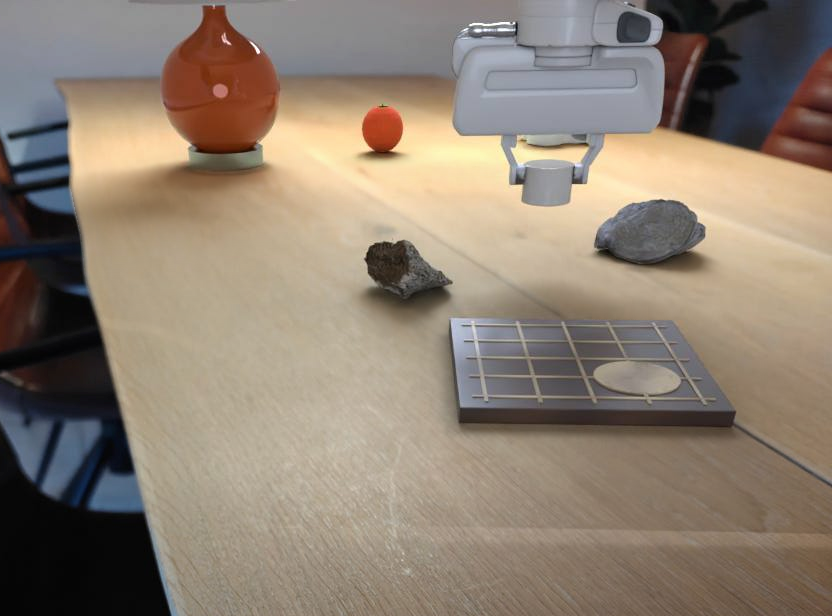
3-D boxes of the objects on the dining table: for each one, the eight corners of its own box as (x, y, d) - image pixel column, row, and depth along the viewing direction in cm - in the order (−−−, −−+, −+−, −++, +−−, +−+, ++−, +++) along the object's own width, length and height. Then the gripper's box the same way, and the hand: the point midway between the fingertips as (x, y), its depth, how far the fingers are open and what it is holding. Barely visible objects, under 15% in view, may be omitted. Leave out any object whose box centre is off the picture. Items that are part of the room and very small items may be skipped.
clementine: (362, 147, 158) (362, 99, 153) (402, 147, 158) (403, 99, 153) (361, 155, 152) (361, 106, 147) (402, 155, 151) (403, 106, 147)
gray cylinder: (566, 195, 96) (570, 158, 94) (573, 206, 92) (577, 168, 90) (519, 196, 96) (522, 159, 94) (523, 206, 93) (527, 168, 90)
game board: (669, 333, 82) (673, 318, 81) (732, 426, 66) (737, 409, 66) (448, 330, 83) (449, 316, 82) (458, 422, 67) (460, 405, 66)
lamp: (120, 173, 141) (72, -158, 117) (191, 146, 159) (162, -145, 136) (267, 183, 134) (247, -166, 111) (323, 153, 153) (317, -151, 129)
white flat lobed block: (595, 147, 156) (509, 144, 159) (596, 130, 170) (518, 128, 173) (598, 125, 154) (511, 122, 157) (599, 110, 168) (520, 108, 171)
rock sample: (488, 252, 89) (425, 193, 85) (456, 319, 88) (390, 262, 84) (429, 276, 98) (368, 223, 94) (399, 336, 97) (337, 286, 93)
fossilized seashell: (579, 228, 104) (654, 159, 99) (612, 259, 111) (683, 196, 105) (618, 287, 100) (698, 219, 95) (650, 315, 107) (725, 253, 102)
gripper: (454, 26, 83) (447, 191, 91) (681, 21, 82) (653, 189, 90) (451, 21, 88) (445, 178, 96) (665, 17, 87) (640, 176, 95)
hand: (547, 183), depth 93 cm, fingers closed on gray cylinder, 5 cm apart
